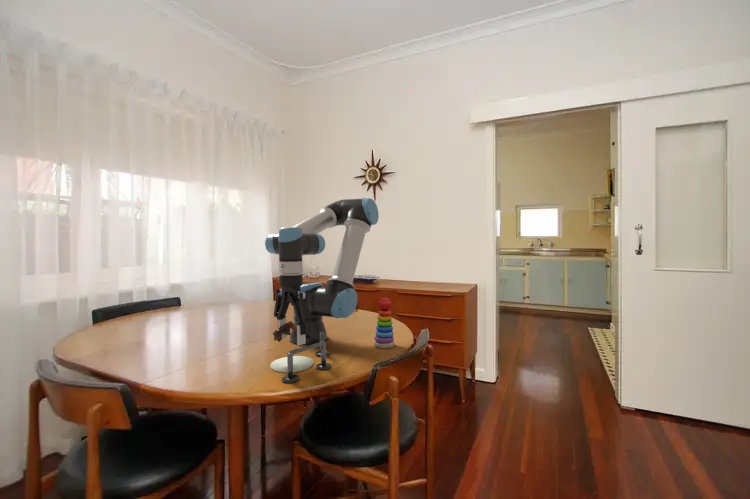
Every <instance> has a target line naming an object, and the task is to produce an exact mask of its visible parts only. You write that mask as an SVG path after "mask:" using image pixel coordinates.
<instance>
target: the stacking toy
mask: <svg viewBox="0 0 750 499" xmlns="http://www.w3.org/2000/svg"><path fill="white" fill-rule="evenodd" d="M377 305H378V307H379V310H378V312H377V313H378V315H377V321H376V327H375V328H376V331H375V336H374V338H373V339H374V343H373V345H374V347H376V348H379V349H391V348H393V347H394V346H395V345H396V344H395V343H396V342H395V341H394V339H395V337H394V334H395V333H394V327H393V321H392V316H391V315H392V311H391V308H392V301H391V300H390V298H388V297H382V298H380V299H379V300H378V304H377Z"/></svg>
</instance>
